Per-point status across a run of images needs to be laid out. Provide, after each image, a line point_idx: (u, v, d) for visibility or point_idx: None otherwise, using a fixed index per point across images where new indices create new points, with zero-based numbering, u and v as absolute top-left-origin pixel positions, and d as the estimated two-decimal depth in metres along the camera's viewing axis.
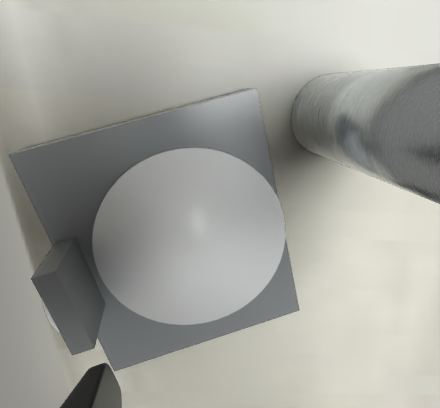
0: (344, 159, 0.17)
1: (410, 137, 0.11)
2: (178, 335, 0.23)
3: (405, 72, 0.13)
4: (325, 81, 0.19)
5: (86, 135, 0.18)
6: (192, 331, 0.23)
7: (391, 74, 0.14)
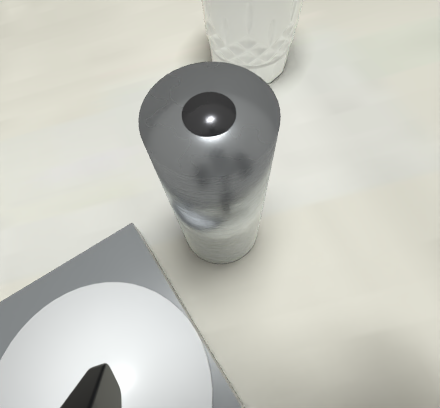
0: (193, 231, 0.17)
1: None
2: None
3: None
4: None
5: None
6: None
7: None
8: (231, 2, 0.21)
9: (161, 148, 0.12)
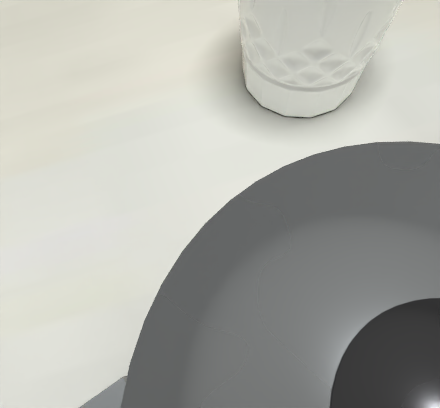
0: None
1: None
2: None
3: None
4: None
5: None
6: None
7: None
8: None
9: None
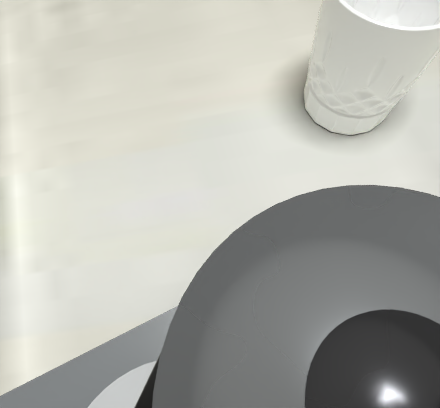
0: None
1: None
2: None
3: None
4: None
5: (57, 368, 0.18)
6: None
7: None
8: (361, 54, 0.19)
9: None
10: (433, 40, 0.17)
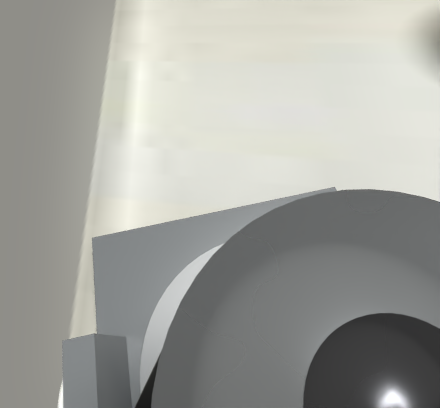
0: None
1: None
2: None
3: None
4: None
5: (166, 223, 0.18)
6: None
7: None
8: None
9: None
10: None
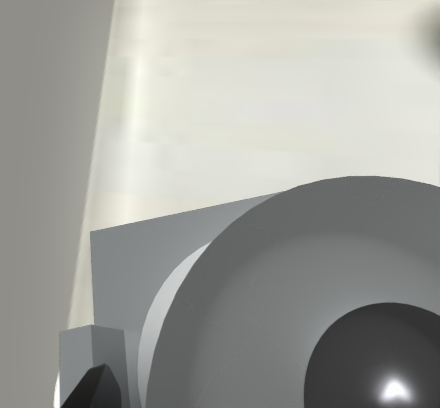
0: None
1: None
2: None
3: None
4: None
5: (164, 217, 0.18)
6: None
7: None
8: None
9: None
10: None
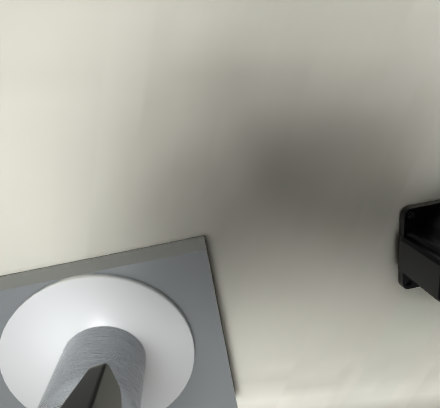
0: None
1: None
2: (211, 365, 0.23)
3: None
4: None
5: None
6: (209, 354, 0.23)
7: None
8: None
9: None
10: None
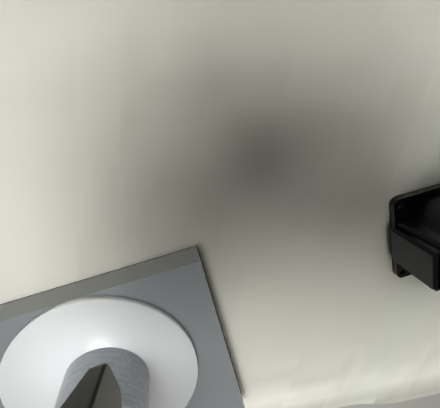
0: None
1: None
2: (215, 373, 0.23)
3: None
4: None
5: None
6: (213, 362, 0.23)
7: None
8: None
9: None
10: None
